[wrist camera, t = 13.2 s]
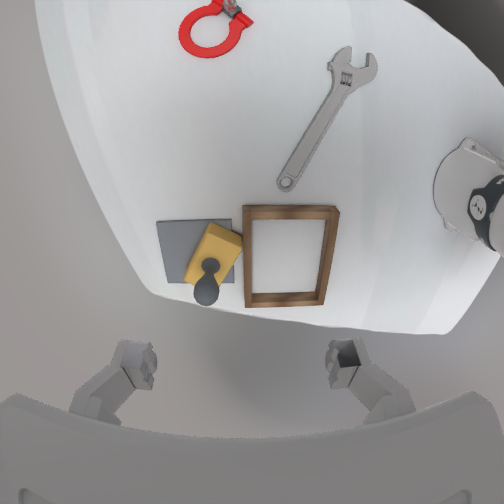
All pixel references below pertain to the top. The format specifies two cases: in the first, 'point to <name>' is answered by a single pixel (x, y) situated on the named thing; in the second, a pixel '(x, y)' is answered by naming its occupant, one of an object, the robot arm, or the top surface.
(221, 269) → the rubber stamp
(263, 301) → the wooden frame
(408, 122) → the top surface
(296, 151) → the adjustable wrench
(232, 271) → the slate mat
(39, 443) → the robot arm
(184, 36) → the tow hook
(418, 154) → the top surface
